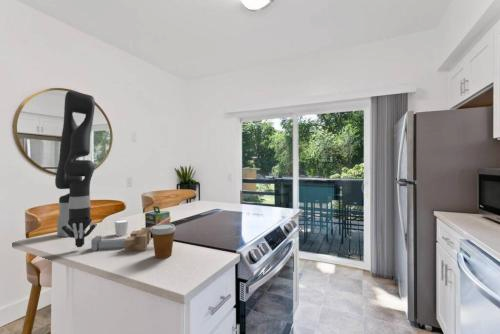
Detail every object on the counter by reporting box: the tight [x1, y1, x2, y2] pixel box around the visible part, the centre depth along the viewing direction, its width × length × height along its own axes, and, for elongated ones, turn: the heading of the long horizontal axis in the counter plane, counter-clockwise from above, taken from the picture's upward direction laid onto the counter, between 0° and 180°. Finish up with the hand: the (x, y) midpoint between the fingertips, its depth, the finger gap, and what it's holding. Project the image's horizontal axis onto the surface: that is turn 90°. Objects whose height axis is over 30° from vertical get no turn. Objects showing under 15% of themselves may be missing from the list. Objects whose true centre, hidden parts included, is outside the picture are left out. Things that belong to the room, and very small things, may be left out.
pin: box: [90, 235, 127, 252], centre depth 105 cm, size 13×6×5 cm, turn 105°
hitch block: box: [124, 227, 152, 253], centre depth 108 cm, size 8×15×6 cm, turn 15°
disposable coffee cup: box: [151, 223, 176, 260], centre depth 96 cm, size 10×10×12 cm
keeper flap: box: [148, 215, 172, 233], centre depth 110 cm, size 11×5×1 cm, turn 104°
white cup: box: [114, 219, 130, 237], centre depth 125 cm, size 7×7×7 cm
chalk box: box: [144, 205, 171, 237], centre depth 127 cm, size 9×9×15 cm
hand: (79, 246), depth 102 cm, fingers closed
